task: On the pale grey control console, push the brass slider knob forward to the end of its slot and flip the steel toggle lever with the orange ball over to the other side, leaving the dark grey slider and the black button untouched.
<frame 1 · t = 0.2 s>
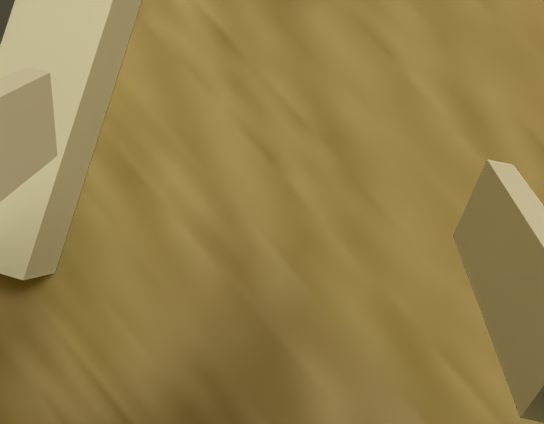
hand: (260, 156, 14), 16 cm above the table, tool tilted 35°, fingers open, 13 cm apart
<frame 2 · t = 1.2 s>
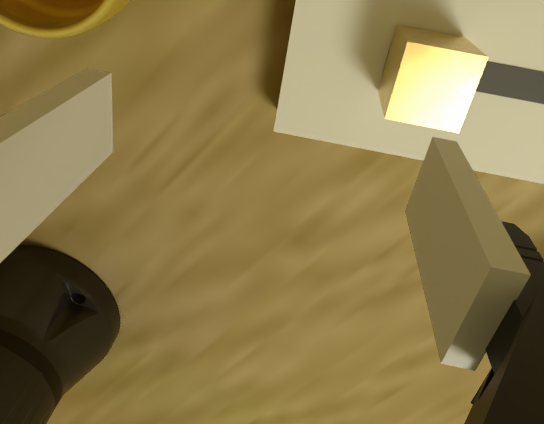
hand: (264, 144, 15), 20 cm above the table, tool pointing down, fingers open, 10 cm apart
brass slider: (426, 76, 26), point 7 cm above the table, slide at 0.0 cm
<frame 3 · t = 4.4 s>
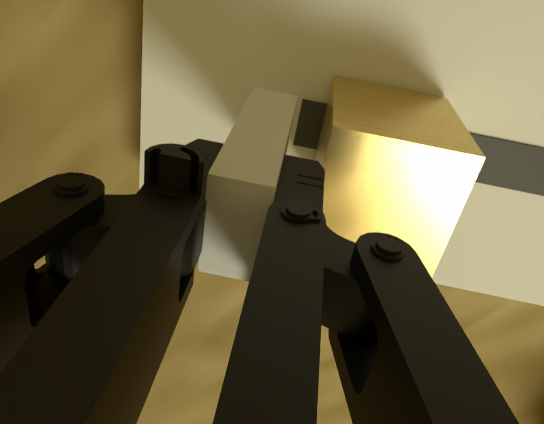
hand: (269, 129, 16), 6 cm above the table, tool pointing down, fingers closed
brass slider: (379, 168, 15), point 7 cm above the table, slide at 0.9 cm, touching gripper
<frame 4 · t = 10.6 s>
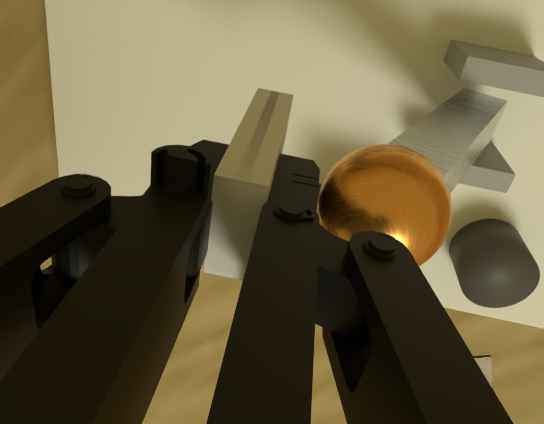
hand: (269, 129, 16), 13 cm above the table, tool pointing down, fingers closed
console: (351, 61, 27), on the table
toggle lever: (435, 155, 17), point 12 cm above the table, hinge at -25.9°, touching gripper
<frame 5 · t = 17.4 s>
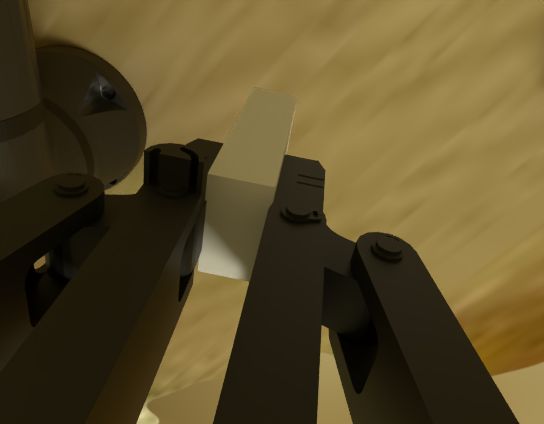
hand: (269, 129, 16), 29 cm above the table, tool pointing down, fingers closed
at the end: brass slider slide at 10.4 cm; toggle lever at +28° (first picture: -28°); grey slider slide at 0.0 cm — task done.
